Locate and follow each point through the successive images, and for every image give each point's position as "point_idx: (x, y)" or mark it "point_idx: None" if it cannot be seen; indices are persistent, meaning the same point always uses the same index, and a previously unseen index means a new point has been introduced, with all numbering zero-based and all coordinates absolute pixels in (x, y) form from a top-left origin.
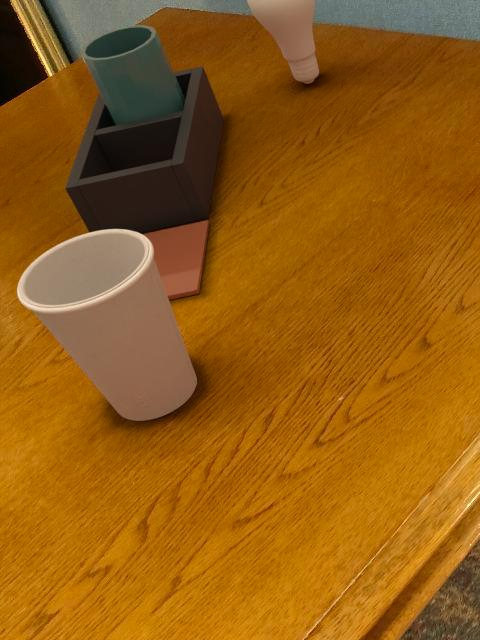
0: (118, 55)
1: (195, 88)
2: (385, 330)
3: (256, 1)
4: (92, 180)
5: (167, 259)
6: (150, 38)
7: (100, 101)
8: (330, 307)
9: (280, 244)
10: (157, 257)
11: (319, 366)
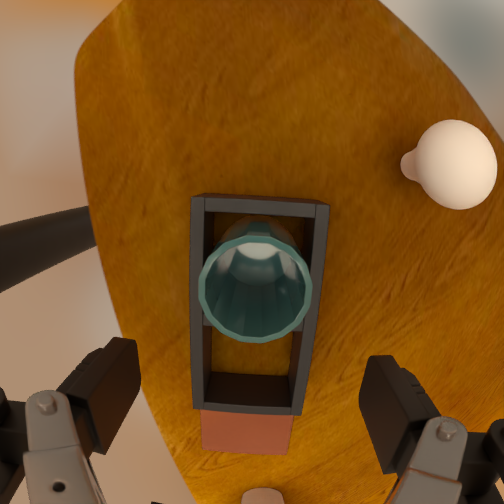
0: (259, 340)
1: (320, 270)
2: (372, 486)
3: (436, 193)
4: (217, 408)
5: (265, 425)
6: (304, 308)
7: (196, 238)
8: (354, 473)
9: (343, 426)
10: (258, 421)
11: (338, 498)
